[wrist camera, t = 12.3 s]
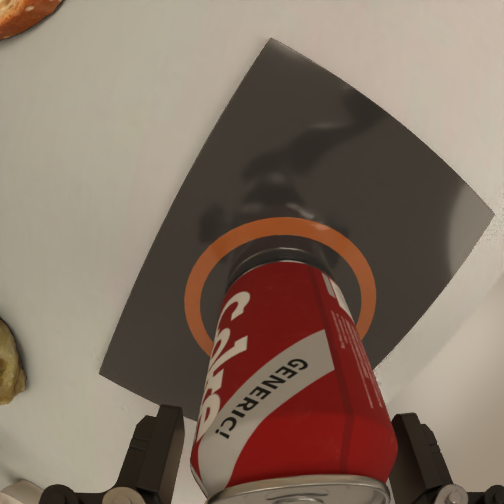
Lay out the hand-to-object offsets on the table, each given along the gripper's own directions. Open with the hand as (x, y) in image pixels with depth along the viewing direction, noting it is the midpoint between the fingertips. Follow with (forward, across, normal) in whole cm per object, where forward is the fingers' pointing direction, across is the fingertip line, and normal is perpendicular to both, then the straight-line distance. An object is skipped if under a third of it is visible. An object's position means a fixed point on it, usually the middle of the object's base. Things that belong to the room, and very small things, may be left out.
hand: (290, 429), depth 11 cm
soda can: (+8, 0, 0) cm, 8 cm away
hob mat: (+8, 0, 0) cm, 8 cm away
